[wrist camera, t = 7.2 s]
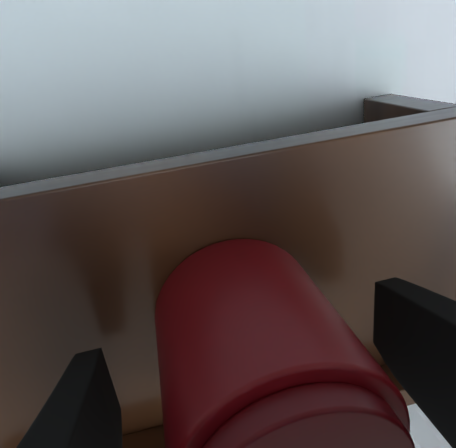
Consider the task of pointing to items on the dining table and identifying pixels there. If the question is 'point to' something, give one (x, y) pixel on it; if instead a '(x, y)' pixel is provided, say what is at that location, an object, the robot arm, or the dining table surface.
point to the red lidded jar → (266, 359)
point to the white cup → (424, 430)
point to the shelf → (213, 233)
